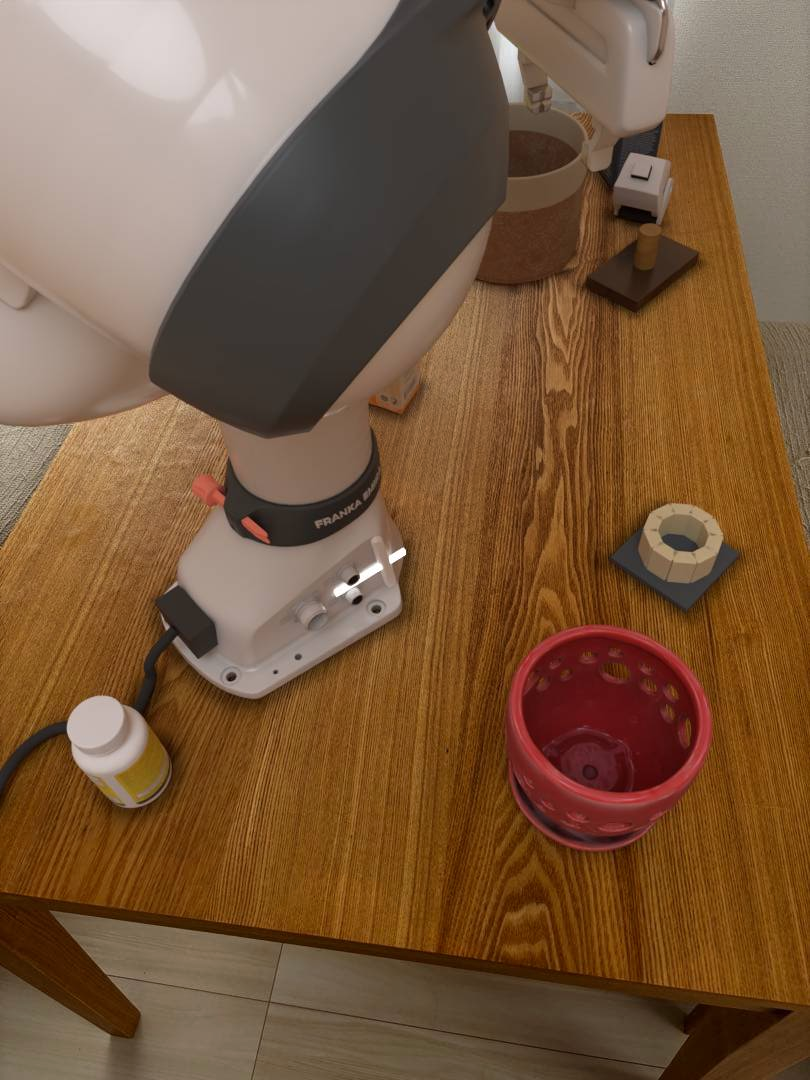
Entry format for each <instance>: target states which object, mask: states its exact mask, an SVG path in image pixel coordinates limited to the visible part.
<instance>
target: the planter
mask: <svg viewBox="0 0 810 1080" xmlns="http://www.w3.org/2000/svg"><path fill="white" fill-rule="evenodd" d="M523 102H524V101H523ZM523 102H520V101H517V102H516V101H515V102H513V101H512V102H509V162H508V179H507V190H506V199H505V201H504V203H503V204H502V205H501V206H500V207H499V209H498V210H497V211H496V212H495V213H494V214H493V219H492V224H491V229H490V233H489V237H488V241H487V245H486V249H485V252H484V255H483V258H482V261H481V264H480V267H479V270H478V273H477V275H476V277H475V279H478V280H480V281H483V282H488V283H495V284H502V285H503V284H506V285H510V284H511V285H512V284H514V285H515V284H525V283H531V282H535V281H538V280H542V279H545V278H547V277H550V276H552V275H554V274H556V273H557V272H559V271H561V270H562V269H563V268H565V266H567V265H568V264H569V263H570V261H571V260H572V258H573V257H574V255H575V253H576V250H577V245H578V237H579V228H580V219H581V210H582V203H583V194H584V186H585V176H586V170H587V169H586V168H587V167H586V166H585V165H584V164H583V163H582V162H581V155H582V142H583V141H586V140H590V139H589V135H588V132H587V130H586V127H585V126H584V125H583V123H582V122H581V121H579V120H578V119H577V118H576V117H575V116H574V115H571V114H570V113H568V112H566V111H564V110H562V109H559V108H557V107H553V106H551V107H550V109H549V110H548V111H547V112H544V113H541V112H540V113H539V114H536V115H535V114H533V113H532V112H530V111H529V110H528V109H527V108H526V107H525V106H524V103H523Z"/></svg>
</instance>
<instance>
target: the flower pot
mask: <svg viewBox="0 0 810 1080" xmlns="http://www.w3.org/2000/svg"><path fill="white" fill-rule="evenodd" d="M612 649H616V650H619V651H615V650H612ZM587 653H590V654H592V655H590V656H582V655H583V654H587ZM610 663H611V664H618V665H622V666H623V667H624V668H626V670H627V671H628V672H629V674H630V675H629V677H626V678H619V677H614V676H613V675H611V674H609V673H607V672H606V671H605V670H604V668H603V666H604V665H606V664H610ZM647 666H648V667H647ZM649 667H650V668H649ZM565 671H569V672H567V673H566V674H564V675H561V674H562V673H563V672H565ZM542 679H544V680H543V681H542ZM645 680H648V681H649V682H651V683H652V684H653V685H654V686H655V687H656V690H654V689H652V688H650V687H649V686H648V685H647V684H646V682H645ZM541 681H542V683H540V682H541ZM539 683H540V684H539ZM670 686H671V687H672V688H673V689H674V690H675V692H676V693H677V697H676V696H675V695H674V694H673V693H672V691H671V689H670ZM667 705H668V706H669V708H670V709H671V710H672V712H673V715H674V716H673V717H674V719H672V717H671V716H670V715H669V713H668V710H667ZM687 720H688V721H689V725H690V736H689V744H688V739H687V732H686V730H687V727H686V726H687ZM713 727H714V726H713V717H712V711H711V706H710V702H709V699H708V696H707V694H706V692H705V690H704V688H703V686H702V684H701V682H700V680H699V678H698V677H697V676H696V674H695V673H694V671H693V670H692V669H691V667H689V666H688V664H687V663H686V662H685V661H684V660H683V659H682V658H680V657H679V656H678V655H677V654H676V653H675V652H673V650H671V649H670V648H668V646H667V645H664V644H663V643H661V642H659V641H658V640H657V639H655V638H653V637H651V636H649V635H646V634H644V633H641V632H639V631H636V630H633V629H630V628H627V627H621V626H617V625H609V624H583V625H577V626H574V627H570V628H569V627H568V628H566V629H563V630H560V631H558V632H556V633H553V634H552V635H549V636H548V637H546V638H544V639H542V641H539V643H537V644H536V645H535V646H534V647H533V648H532V649H531V650H530V651H529V652H528V653H527V654H526V655H525V656H524V658H523V659H522V661H521V662H520V664H519V665H518V666H517V669H516V671H515V673H514V675H513V678H512V680H511V684H510V688H509V691H508V696H507V700H506V707H505V716H504V737H505V743H506V744H505V745H506V750H507V755H508V761H507V764H508V765H507V773H508V774H507V775H508V781H509V786H510V789H511V793H512V796H513V798H514V801H515V803H516V805H517V806H518V809H519V810H520V812H521V813H522V814H523V816H524V817H525V818H526V819H527V821H528V822H530V824H532V826H533V827H534V828H535V829H536V830H538V831H539V832H540V833H541V834H542V835H544V836H545V837H547V838H548V839H549V840H551V841H554V842H556V843H557V844H560V845H561V846H564V847H566V848H569V849H572V850H576V851H581V852H589V853H604V852H605V853H606V852H611V851H615V850H620V849H623V848H625V847H627V846H629V845H631V844H633V843H635V842H637V841H639V840H640V839H641V838H642V837H644V836H645V835H646V834H647V833H648V832H649V831H651V829H652V828H653V827H654V826H655V824H656V823H657V822H658V820H659V819H660V818H662V817H663V816H664V815H665V814H667V813H668V812H669V811H670V810H672V809H673V808H674V807H675V806H676V805H677V804H678V803H679V802H680V800H681V799H683V797H684V796H685V794H686V793H687V792H688V790H689V789H690V787H691V786H692V784H693V783H694V781H695V780H696V779H697V777H698V775H699V774H700V771H701V770H702V768H703V767H704V765H705V762H706V760H707V758H708V755H709V753H710V750H711V745H712V741H713Z"/></svg>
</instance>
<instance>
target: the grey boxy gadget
mask: <svg viewBox="0 0 810 1080" xmlns="http://www.w3.org/2000/svg"><path fill="white" fill-rule="evenodd" d="M671 168H672V162H671V161H670V160H668V159H665V158H661V157H652V156H647V155H642V154H636V153H630V155H629V156H628V158H627V160H626V162H625V164H624V166H623V168H622V170H621V173H620V175H619V177H618V179H617V181H616V183H615V185H614V189H612V198H611V199H612V200H611V202H612V207H613V215H614V216H616V217H617V218H621V219H625V220H630V221H633V222H638V223H642V224H648V223H651V224H656V225H658V226H660V225H661V224H662V221H663V219H664V216H665V214H666V210H667V207H668V205H669V203H670V202H669V201H670V199H671V195H672V192H673V189H674V183H675V179H674V177H669V175H670V172H671Z"/></svg>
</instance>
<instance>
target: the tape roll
mask: <svg viewBox="0 0 810 1080" xmlns="http://www.w3.org/2000/svg"><path fill="white" fill-rule="evenodd" d="M648 514H649V515H648V516H647V519H646V521H645V522H644V524H645V526H644V528H643V532H642V535H641V539H640V543H639V547H638V551H639V554H640V556H641V559H642V561H643V564H644V566H645V567H647V570H649V571H650V572H652V573H653V574H655V575H656V576H658V577H660V578H661V579H663V580H664V581H665V580H666V579H667V582H677V583H688V584H689V583H690V582H691V583H693V582H695V581H697V580H699V579H700V578H702V577H704V576H706V575H708V574H709V573H710V572H711V570H712V567H713V565H714V562H715V560H716V557H717V555H718V552H719V549H720V546H721V543H722V542H723V540H724V533H723V531H722V529H721V528H720V525H719V523H718V521H717V519H716V518H715V517H714V515H712V514H710V513H709V512H707V511H705V510H704V509H702V508H700V507H699V506H697V505H693V504H689V503H676V502H670V503H666V504H664V505H662V506H661V507H660V506H659V507H658V508H656V509H654V510H652V511H651V512H649V513H648ZM667 534H676V535H684V536H686V537H687V538H689V539H690V540H692V541H694V542H695V543H696V544H697V546H698V548H699V549H698V550H696V551H694V552H684V551H676V550H674V549H672V548H671V547H669V546H668V545H666V544H665V543H663V541H662V539H661V537H663V536H665V535H667Z"/></svg>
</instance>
